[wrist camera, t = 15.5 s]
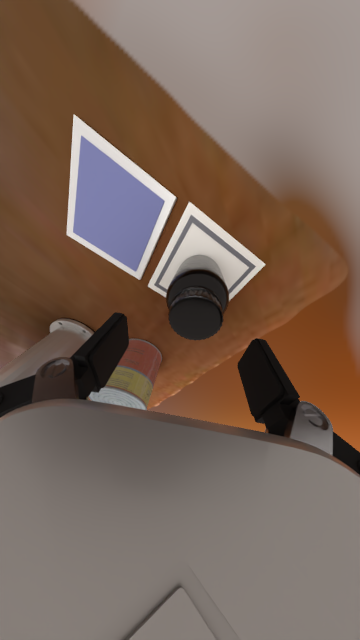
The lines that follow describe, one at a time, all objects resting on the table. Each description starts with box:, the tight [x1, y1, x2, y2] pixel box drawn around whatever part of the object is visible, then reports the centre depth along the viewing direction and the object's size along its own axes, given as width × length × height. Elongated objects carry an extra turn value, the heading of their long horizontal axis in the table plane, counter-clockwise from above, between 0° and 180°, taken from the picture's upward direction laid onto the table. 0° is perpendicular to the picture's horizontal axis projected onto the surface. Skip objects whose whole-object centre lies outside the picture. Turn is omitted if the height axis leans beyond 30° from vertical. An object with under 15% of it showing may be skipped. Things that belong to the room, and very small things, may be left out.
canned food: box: [89, 339, 162, 410], centre depth 31 cm, size 11×11×12 cm
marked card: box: [148, 202, 266, 301], centre depth 21 cm, size 13×13×1 cm
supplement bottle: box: [166, 255, 229, 340], centre depth 17 cm, size 7×7×12 cm
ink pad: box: [67, 115, 177, 280], centre depth 18 cm, size 12×12×1 cm
